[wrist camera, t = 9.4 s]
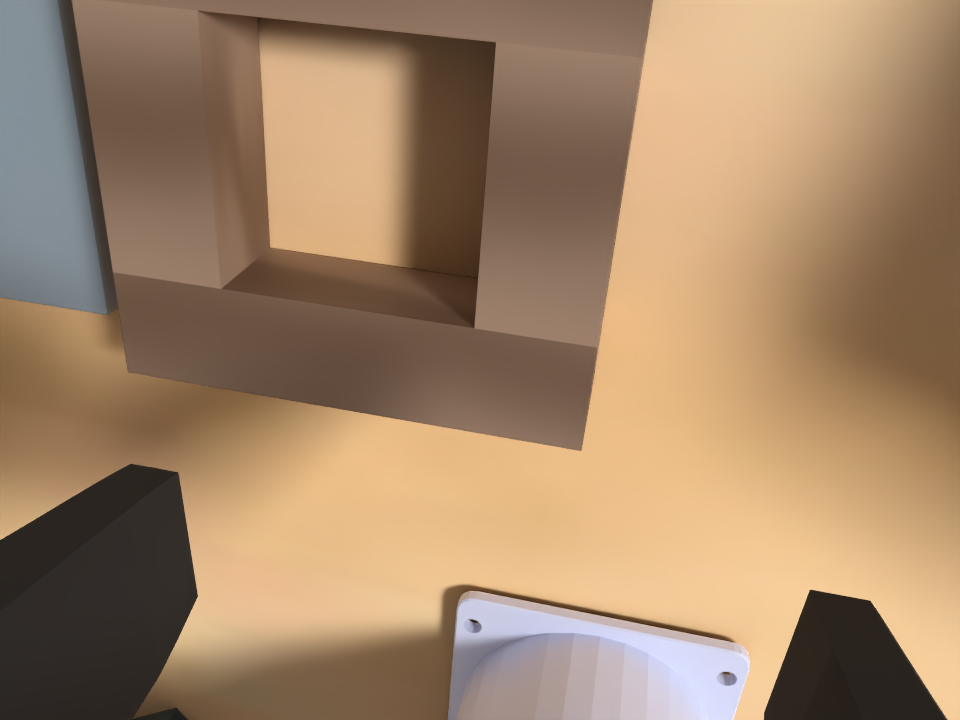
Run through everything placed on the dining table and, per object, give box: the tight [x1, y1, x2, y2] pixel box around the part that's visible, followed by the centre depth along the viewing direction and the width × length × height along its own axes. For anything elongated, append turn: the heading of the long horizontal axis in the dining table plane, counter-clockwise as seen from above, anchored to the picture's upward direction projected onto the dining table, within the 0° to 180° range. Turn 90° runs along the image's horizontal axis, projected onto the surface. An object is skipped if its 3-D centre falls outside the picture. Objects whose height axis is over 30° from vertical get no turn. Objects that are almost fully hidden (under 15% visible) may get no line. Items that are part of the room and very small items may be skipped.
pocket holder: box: [72, 0, 653, 451], centre depth 17 cm, size 10×10×2 cm
